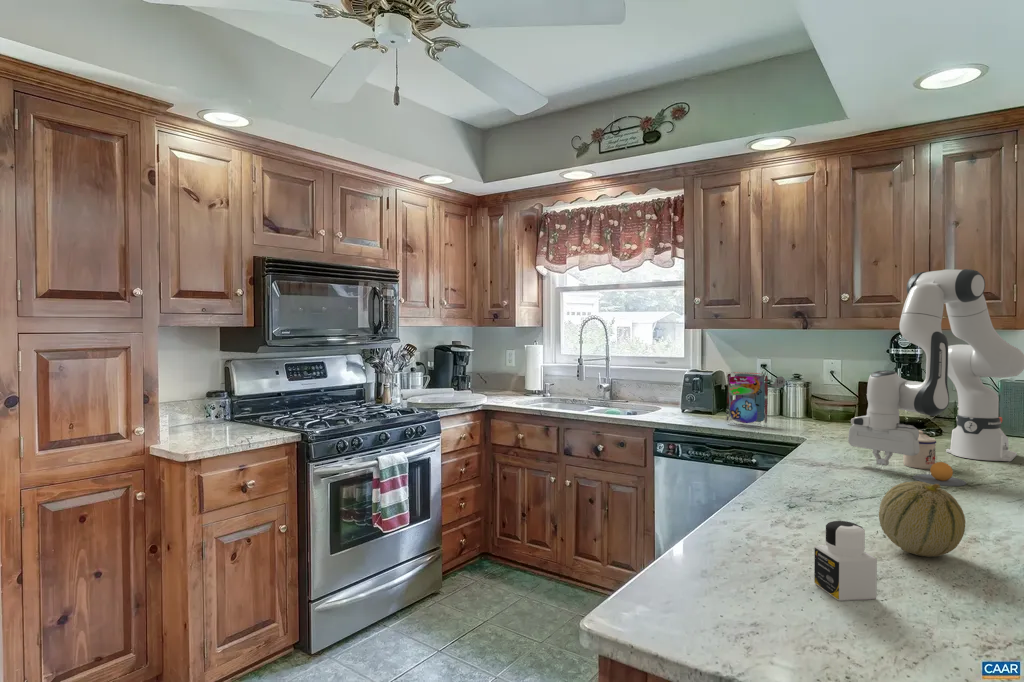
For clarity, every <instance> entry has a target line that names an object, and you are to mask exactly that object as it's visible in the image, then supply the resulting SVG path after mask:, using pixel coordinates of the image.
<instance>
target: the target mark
mask: <svg viewBox="0 0 1024 682" xmlns="http://www.w3.org/2000/svg"><path fill="white" fill-rule="evenodd" d="M912 479H913V480H915V481H920V482H925V483H928V484H932V485H934V484H939V485H940V486H942V487H943V486H945V487H962V486H965V485H967V481H966V480H963V479H960V478H958V477H955V476H954V477H953V476H952V477H951V478H950V479H949V480H946V481H940V480H937V479H935V478H934V477H933V476H932V475H931V473H928V474H927V473H923V474H922V473H920V474H914V475H913V476H912Z"/></svg>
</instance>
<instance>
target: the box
mask: <svg viewBox="0 0 1024 682" xmlns="http://www.w3.org/2000/svg"><path fill="white" fill-rule="evenodd" d="M732 374H735V375H734V376H732ZM768 376H769V375H768V374H767V373H763V372H749V371H748V372H745V371H742V372H741V371H730V373H727V374H726V378H727V380H726V385H727V390H725V391H726V394H725V395H726V404H727V405H726V423H729V419H731V421H732V422H731V423H732V424H731V427H732V426H733V427H734V425H736V423H740V425H745V424H749V426H751V427H753V428H755V429H756V426H753V423H754V422H755V423H754V425H757V426H758V425H760V424H761V422H764V425H763V426H764V427H763V426H762V425H760V426H758V427H759V428H762V429H763V428H767V427H768V425H767V424H768V404H769V403H768V401H769V400H768V396H769V395H768V394H769V388H768V386H769V385H768V380H769V377H768ZM785 383H786V380H785V378H784V377H783V376H777V377H776V378H775V381H774V383H773V384H770V386H771V387H776V388H778V389H779V388H782V387H783V386H785ZM732 396H734V397H735V398H734V399H733V398H732ZM728 409H729V410H728ZM728 414H729V416H728ZM733 421H735V422H736V423H735V422H733ZM756 422H757V423H756ZM751 423H752V425H751ZM740 425H739V427H742V428H743V426H740Z"/></svg>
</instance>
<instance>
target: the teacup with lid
mask: <svg viewBox="0 0 1024 682" xmlns="http://www.w3.org/2000/svg"><path fill="white" fill-rule="evenodd" d="M918 431H919V438H918V441H919V453H918V454H917V455H914V456H910V455H904V454H902V455H903V456H902V457H903V461H902V462H903V465H904V466H905V467H909V468H913V469H919V470H920V469H921V470H930V468H931V466H932V465H933V464H934V463H936V444H937V440H936V439H935V438H933V437H930V436H929V435H927V434H924V431H923V430H920V429H918Z"/></svg>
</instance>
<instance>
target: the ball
mask: <svg viewBox="0 0 1024 682" xmlns="http://www.w3.org/2000/svg"><path fill="white" fill-rule="evenodd" d="M929 472H930V474H931V475H932V476H933V477H934V478H935V479H937V480H940V481H946V480H949V479H950V478H951V477H953V475H954V471H953V468H952V466H951V465H950V464H948V463H946V462H943V461H937V462H935V463H934V464H933V465H932V466H931V468H930V469H929Z"/></svg>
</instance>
